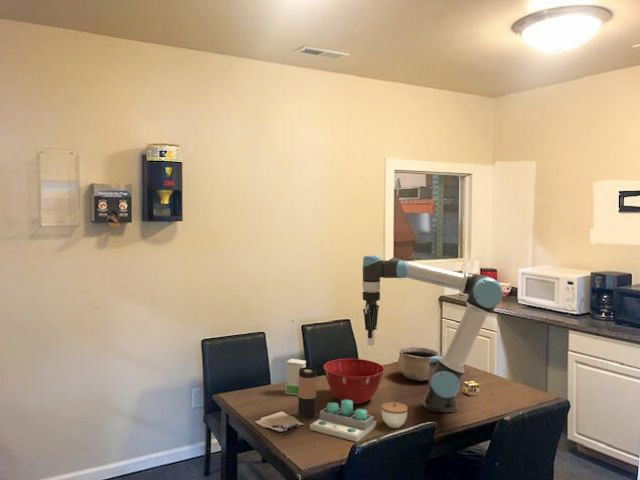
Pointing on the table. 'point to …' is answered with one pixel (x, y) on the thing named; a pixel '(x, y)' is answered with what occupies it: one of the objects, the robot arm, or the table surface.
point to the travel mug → (307, 392)
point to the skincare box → (293, 375)
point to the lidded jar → (394, 414)
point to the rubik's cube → (471, 387)
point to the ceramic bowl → (415, 362)
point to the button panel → (343, 425)
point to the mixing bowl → (353, 379)
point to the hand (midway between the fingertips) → (371, 344)
